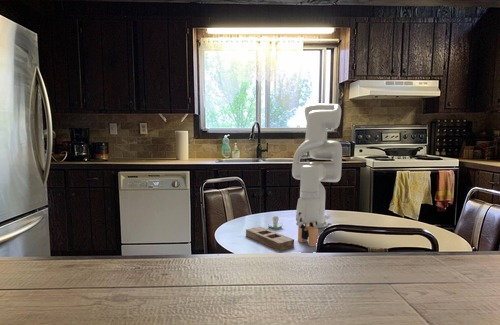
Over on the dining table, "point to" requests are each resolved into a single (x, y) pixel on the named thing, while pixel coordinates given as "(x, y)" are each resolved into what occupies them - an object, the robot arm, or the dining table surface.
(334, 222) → the dining table surface
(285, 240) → the rail
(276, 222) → the pacifier
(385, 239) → the dining table surface
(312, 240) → the clip
